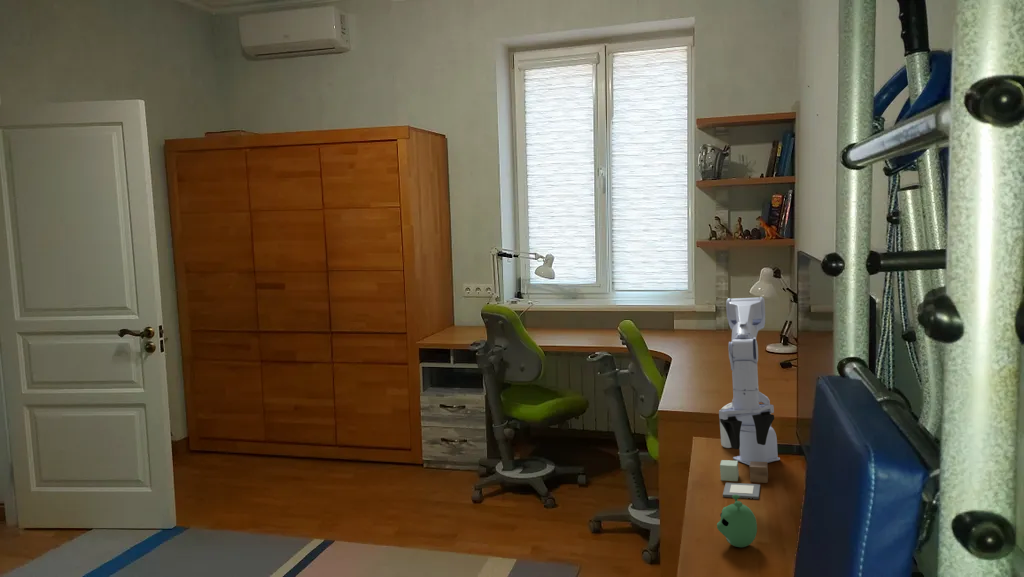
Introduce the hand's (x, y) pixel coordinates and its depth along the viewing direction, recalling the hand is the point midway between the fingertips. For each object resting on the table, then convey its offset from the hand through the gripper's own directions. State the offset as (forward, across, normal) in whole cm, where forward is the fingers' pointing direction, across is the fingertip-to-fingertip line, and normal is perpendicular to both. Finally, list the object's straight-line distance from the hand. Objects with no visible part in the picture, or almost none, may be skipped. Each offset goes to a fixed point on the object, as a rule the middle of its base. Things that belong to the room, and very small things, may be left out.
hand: (748, 446), depth 166 cm
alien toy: (+14, -20, -20) cm, 32 cm away
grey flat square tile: (+11, -1, +2) cm, 11 cm away
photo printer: (+8, +22, +32) cm, 39 cm away
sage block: (+10, +2, +11) cm, 15 cm away
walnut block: (+10, +8, +6) cm, 14 cm away
